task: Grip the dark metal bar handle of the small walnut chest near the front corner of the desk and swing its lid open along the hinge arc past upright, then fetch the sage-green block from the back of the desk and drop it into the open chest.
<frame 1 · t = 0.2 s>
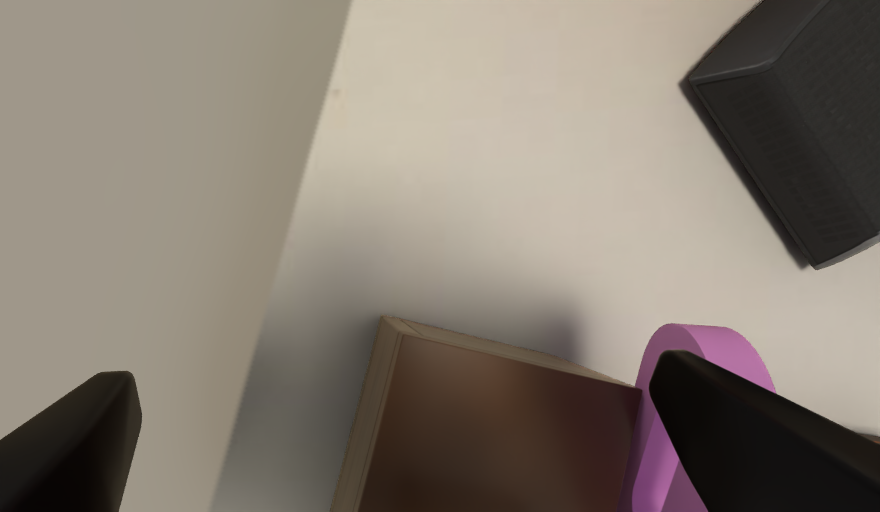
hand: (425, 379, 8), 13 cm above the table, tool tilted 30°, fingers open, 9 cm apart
chest: (444, 444, 21), on the table
hard drive: (858, 75, 27), on the table, touching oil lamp, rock
bracket: (635, 509, 16), point 7 cm above the table
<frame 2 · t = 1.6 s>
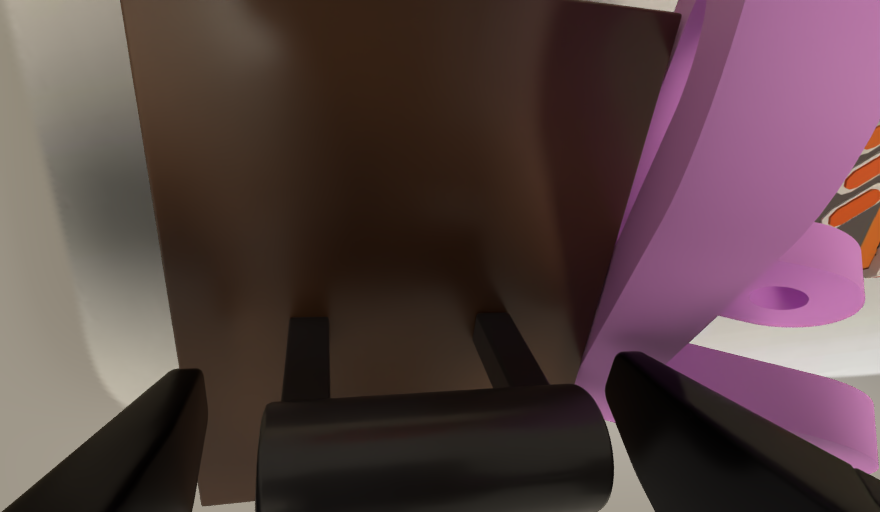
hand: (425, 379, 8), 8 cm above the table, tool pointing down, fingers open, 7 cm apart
lid: (420, 351, 8), point 8 cm above the table, hinge at -0.3°, touching bracket
electronic device: (820, 161, 18), on the table, touching bracket
bracket: (611, 206, 10), point 6 cm above the table, touching electronic device, lid
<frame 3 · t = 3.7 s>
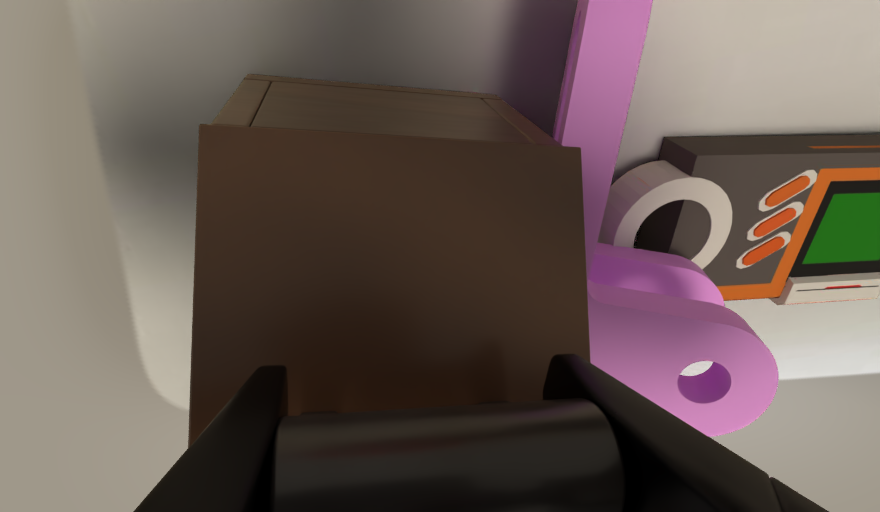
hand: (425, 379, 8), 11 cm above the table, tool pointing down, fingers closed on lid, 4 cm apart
lid: (424, 402, 8), point 11 cm above the table, hinge at 35.3°, touching gripper
chest: (371, 218, 18), on the table
electronic device: (745, 205, 22), on the table, touching bracket
bracket: (543, 173, 16), point 3 cm above the table, touching chest, electronic device
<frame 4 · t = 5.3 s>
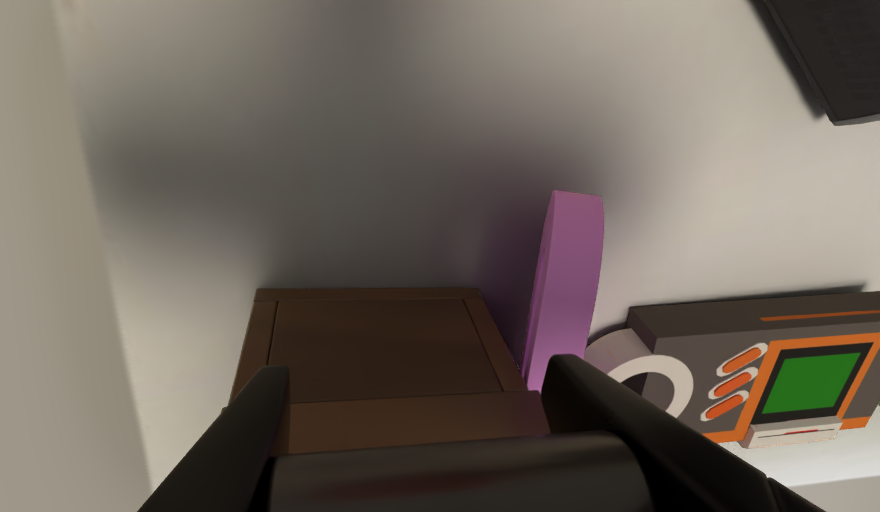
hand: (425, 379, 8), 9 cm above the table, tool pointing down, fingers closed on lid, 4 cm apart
chest: (366, 388, 20), on the table
electronic device: (710, 352, 24), on the table, touching bracket
bracket: (517, 371, 18), point 3 cm above the table, touching chest, electronic device
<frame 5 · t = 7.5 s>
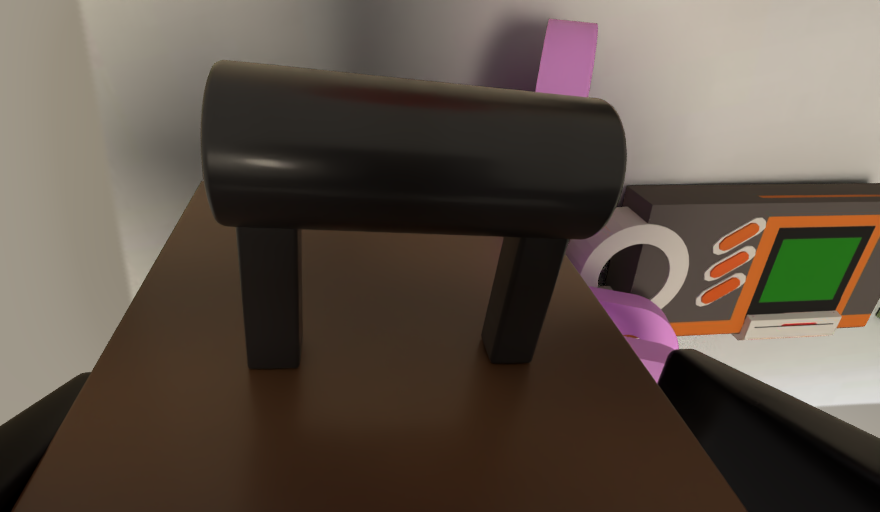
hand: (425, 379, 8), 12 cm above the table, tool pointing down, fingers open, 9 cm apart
lid: (401, 237, 7), point 12 cm above the table, hinge at 85.3°, touching gripper
electronic device: (708, 246, 23), on the table, touching bracket
bracket: (508, 222, 17), point 3 cm above the table, touching chest, electronic device
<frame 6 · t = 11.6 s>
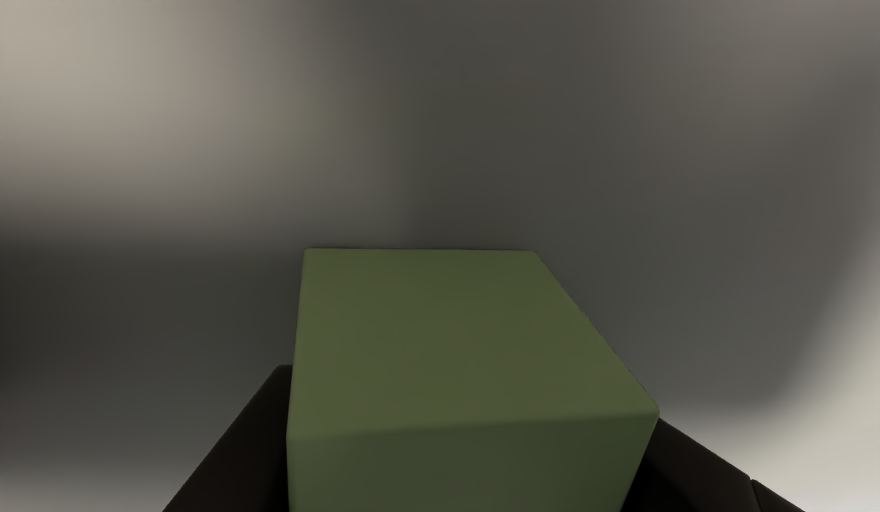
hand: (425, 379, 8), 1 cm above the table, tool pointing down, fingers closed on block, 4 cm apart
block: (415, 342, 9), on the table, touching gripper
when the fingers open (5 cm above the table, at t = 18.3 s): block stays where it is, resting on chest.
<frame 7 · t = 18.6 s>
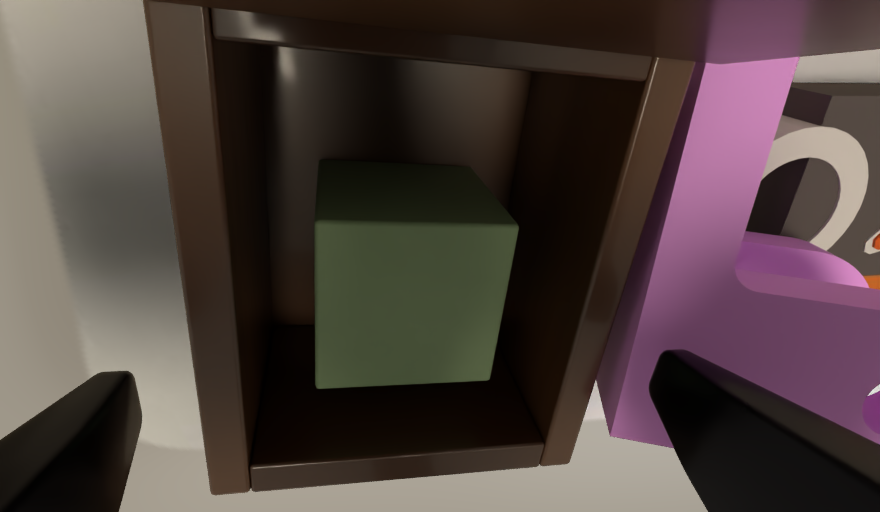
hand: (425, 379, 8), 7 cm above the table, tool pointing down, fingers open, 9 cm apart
chest: (391, 189, 14), on the table
electronic device: (859, 178, 17), on the table
block: (392, 232, 14), point 1 cm above the table, touching chest
bracket: (642, 119, 11), point 3 cm above the table
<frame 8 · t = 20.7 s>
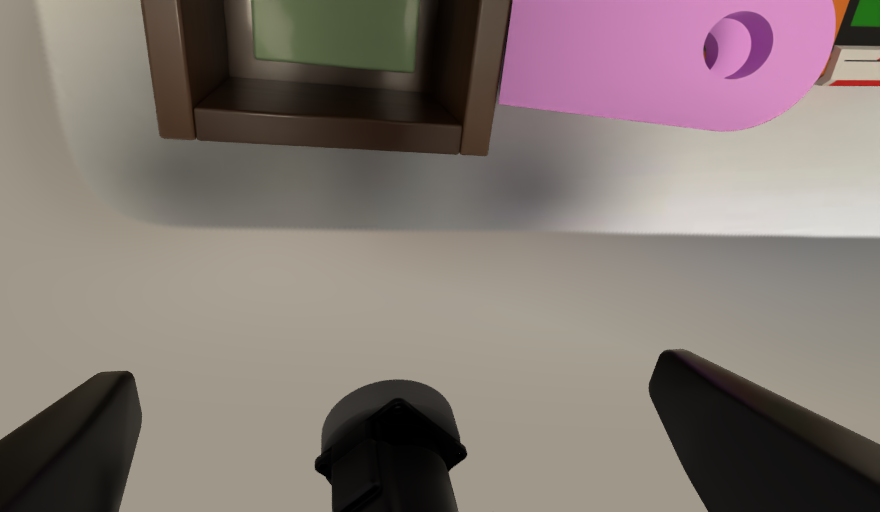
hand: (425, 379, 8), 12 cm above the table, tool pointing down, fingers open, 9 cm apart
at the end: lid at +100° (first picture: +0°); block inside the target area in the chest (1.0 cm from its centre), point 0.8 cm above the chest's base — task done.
